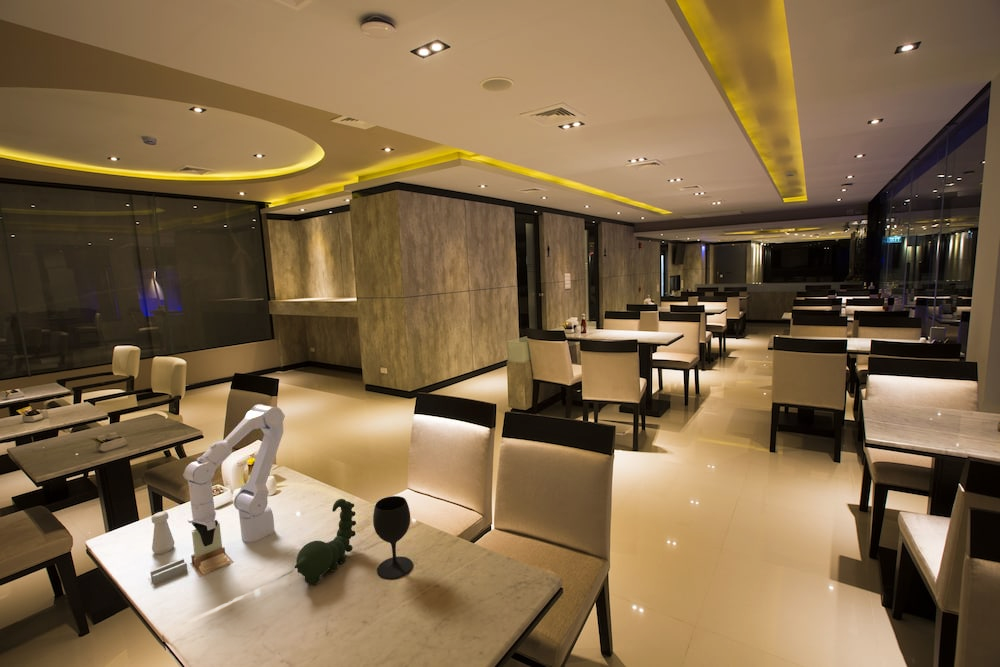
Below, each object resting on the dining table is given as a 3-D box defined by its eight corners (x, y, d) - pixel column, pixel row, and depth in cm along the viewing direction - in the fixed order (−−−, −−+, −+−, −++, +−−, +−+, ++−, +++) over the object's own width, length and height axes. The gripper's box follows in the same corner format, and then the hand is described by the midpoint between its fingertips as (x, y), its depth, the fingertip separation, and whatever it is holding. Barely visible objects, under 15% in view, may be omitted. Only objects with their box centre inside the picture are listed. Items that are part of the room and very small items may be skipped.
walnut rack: (223, 552, 145) (222, 542, 145) (234, 564, 139) (233, 554, 138) (190, 565, 139) (188, 555, 139) (199, 579, 132) (198, 568, 132)
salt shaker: (163, 558, 143) (158, 519, 142) (148, 557, 144) (143, 517, 143) (179, 547, 149) (175, 509, 147) (165, 546, 150) (160, 508, 148)
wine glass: (420, 562, 137) (416, 498, 135) (398, 583, 128) (394, 515, 125) (391, 554, 141) (387, 492, 139) (369, 574, 132) (364, 508, 130)
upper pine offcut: (223, 556, 140) (223, 552, 140) (227, 560, 138) (227, 557, 138) (200, 565, 136) (200, 562, 136) (204, 570, 134) (204, 567, 133)
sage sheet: (220, 548, 144) (217, 521, 143) (222, 550, 143) (219, 522, 142) (194, 558, 139) (191, 530, 138) (196, 560, 138) (193, 532, 137)
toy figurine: (338, 550, 147) (280, 595, 124) (337, 491, 147) (279, 525, 123) (364, 554, 145) (310, 600, 121) (363, 494, 144) (309, 529, 120)
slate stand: (185, 566, 139) (184, 555, 138) (190, 574, 135) (189, 563, 134) (148, 581, 132) (147, 570, 132) (153, 590, 128) (151, 579, 128)
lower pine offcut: (225, 558, 141) (225, 555, 141) (229, 563, 138) (229, 560, 138) (199, 569, 136) (198, 565, 136) (203, 574, 133) (202, 571, 133)
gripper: (180, 498, 141) (185, 540, 142) (193, 514, 131) (199, 558, 132) (206, 490, 146) (211, 530, 147) (221, 504, 136) (226, 547, 137)
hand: (207, 543), depth 140 cm, fingers closed on sage sheet, 1 cm apart
